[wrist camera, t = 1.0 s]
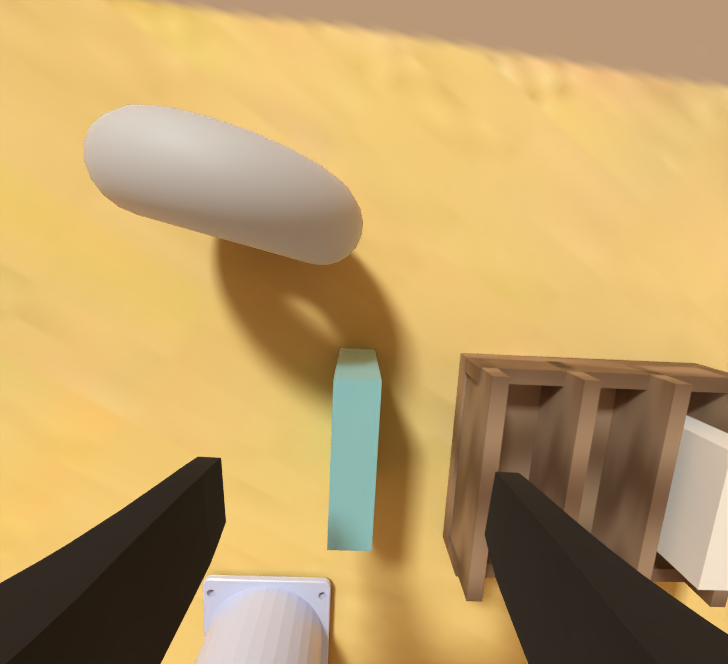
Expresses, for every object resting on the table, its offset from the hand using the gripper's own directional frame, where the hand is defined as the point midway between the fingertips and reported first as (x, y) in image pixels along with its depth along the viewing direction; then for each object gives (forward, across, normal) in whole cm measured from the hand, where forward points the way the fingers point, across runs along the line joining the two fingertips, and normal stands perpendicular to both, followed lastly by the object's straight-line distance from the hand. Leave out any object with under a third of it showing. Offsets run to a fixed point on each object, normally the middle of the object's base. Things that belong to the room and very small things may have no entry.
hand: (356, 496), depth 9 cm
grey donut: (+12, +5, -7) cm, 15 cm away
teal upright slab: (+11, 0, +4) cm, 12 cm away
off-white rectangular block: (+10, -17, +6) cm, 21 cm away
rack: (+11, -13, +6) cm, 18 cm away
